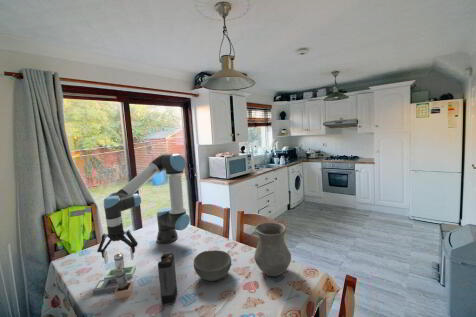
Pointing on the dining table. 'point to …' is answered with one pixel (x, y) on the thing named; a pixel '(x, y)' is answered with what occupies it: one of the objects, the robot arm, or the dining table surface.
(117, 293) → the orange open box
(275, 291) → the dining table surface
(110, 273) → the trough
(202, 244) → the dining table surface
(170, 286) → the electronic device
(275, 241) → the vase
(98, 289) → the cradle
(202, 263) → the bowl
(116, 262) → the cell
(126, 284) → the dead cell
